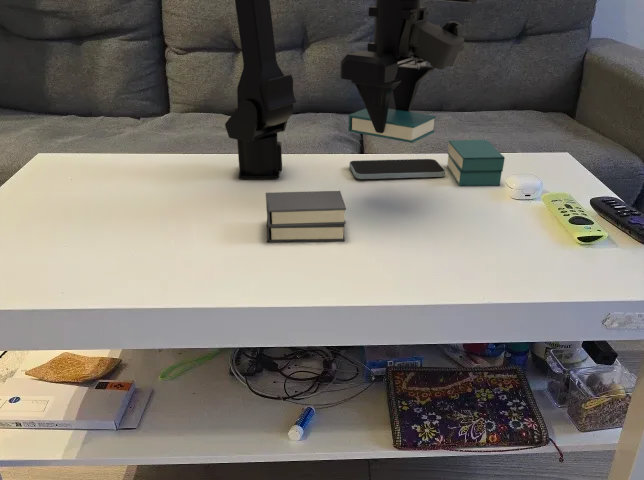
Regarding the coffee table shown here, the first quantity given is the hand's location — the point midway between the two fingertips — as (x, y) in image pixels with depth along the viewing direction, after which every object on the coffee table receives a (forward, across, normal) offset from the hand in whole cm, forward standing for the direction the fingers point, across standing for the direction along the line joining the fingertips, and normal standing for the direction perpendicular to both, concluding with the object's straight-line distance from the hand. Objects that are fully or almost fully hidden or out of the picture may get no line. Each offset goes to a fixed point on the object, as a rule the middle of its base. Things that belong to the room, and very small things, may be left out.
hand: (391, 127), depth 92 cm
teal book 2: (+9, +20, -6) cm, 22 cm away
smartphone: (+11, +14, +6) cm, 19 cm away
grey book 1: (+9, -15, +4) cm, 18 cm away
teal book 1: (+1, 0, 0) cm, 1 cm away
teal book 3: (+11, +20, -6) cm, 23 cm away
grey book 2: (+11, -15, +4) cm, 19 cm away
